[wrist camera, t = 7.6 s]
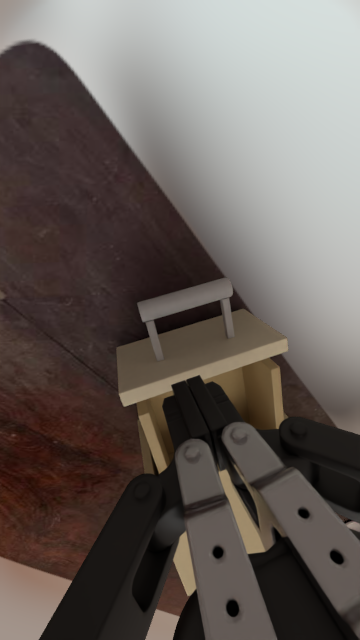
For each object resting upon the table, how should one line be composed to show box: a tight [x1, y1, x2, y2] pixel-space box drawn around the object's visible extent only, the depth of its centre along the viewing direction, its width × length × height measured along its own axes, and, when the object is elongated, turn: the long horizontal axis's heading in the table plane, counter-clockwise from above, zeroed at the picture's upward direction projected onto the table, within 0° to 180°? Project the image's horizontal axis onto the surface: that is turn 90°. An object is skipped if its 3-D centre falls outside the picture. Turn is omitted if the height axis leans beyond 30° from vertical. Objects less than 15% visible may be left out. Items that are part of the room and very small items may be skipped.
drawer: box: [116, 277, 288, 474], centre depth 24 cm, size 20×13×7 cm, turn 13°
